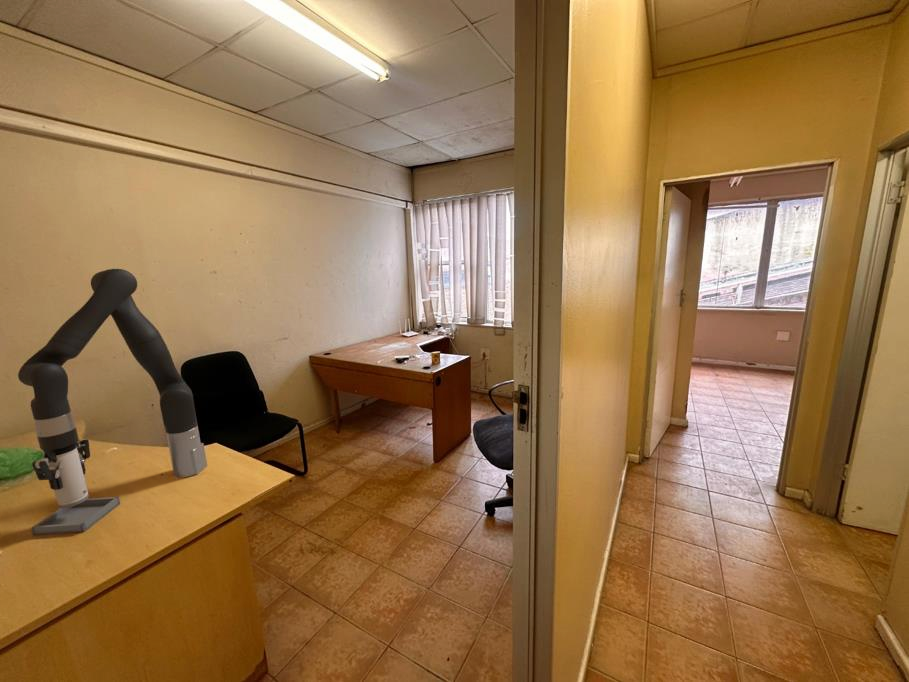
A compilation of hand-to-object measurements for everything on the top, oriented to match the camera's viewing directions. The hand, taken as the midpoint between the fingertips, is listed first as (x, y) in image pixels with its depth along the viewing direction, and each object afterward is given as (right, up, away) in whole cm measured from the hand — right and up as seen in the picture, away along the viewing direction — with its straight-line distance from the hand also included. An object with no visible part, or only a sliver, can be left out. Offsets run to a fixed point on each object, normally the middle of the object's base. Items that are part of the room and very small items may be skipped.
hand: (69, 481), depth 104 cm
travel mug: (0, -7, +2) cm, 7 cm away
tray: (0, -12, +3) cm, 12 cm away
